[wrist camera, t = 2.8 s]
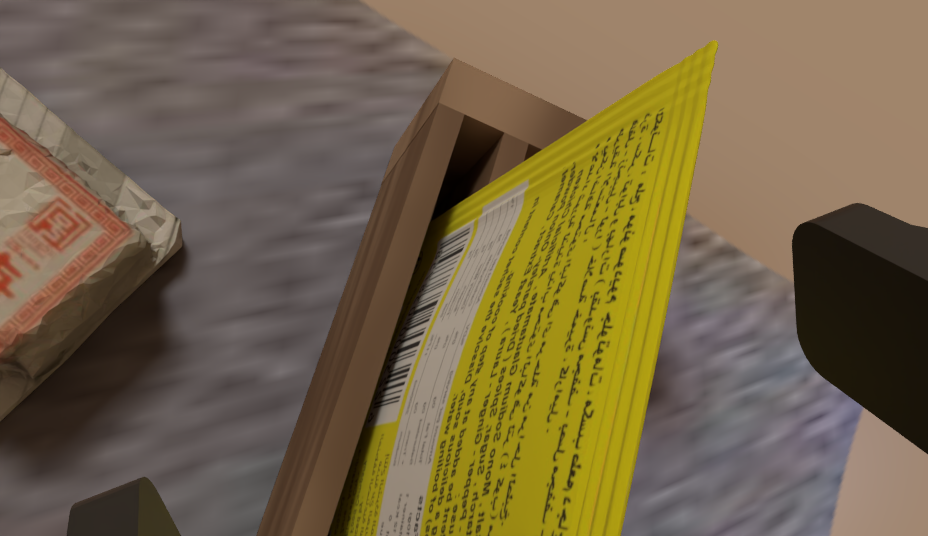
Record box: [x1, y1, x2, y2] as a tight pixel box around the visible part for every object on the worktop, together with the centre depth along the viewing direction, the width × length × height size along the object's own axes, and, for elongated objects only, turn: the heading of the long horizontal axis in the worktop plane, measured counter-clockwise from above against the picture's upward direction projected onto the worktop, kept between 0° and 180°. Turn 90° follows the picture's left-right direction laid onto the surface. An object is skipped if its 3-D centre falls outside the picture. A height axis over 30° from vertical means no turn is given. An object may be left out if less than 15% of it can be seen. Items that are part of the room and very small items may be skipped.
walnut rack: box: [256, 58, 587, 536], centre depth 32 cm, size 10×21×8 cm, turn 164°
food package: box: [327, 40, 718, 536], centre depth 25 cm, size 15×1×20 cm, turn 163°
